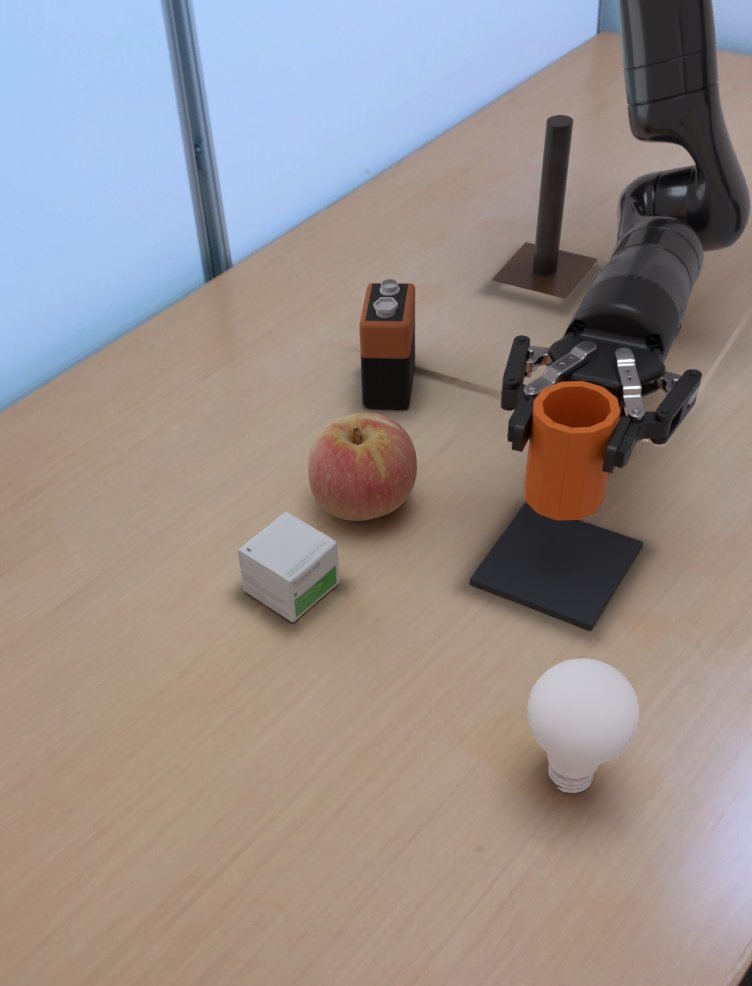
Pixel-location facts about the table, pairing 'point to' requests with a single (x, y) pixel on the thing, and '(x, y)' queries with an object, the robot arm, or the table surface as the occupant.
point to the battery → (387, 344)
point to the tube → (569, 449)
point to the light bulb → (581, 719)
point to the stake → (549, 225)
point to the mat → (557, 566)
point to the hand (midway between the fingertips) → (562, 451)
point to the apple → (362, 466)
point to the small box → (289, 566)
